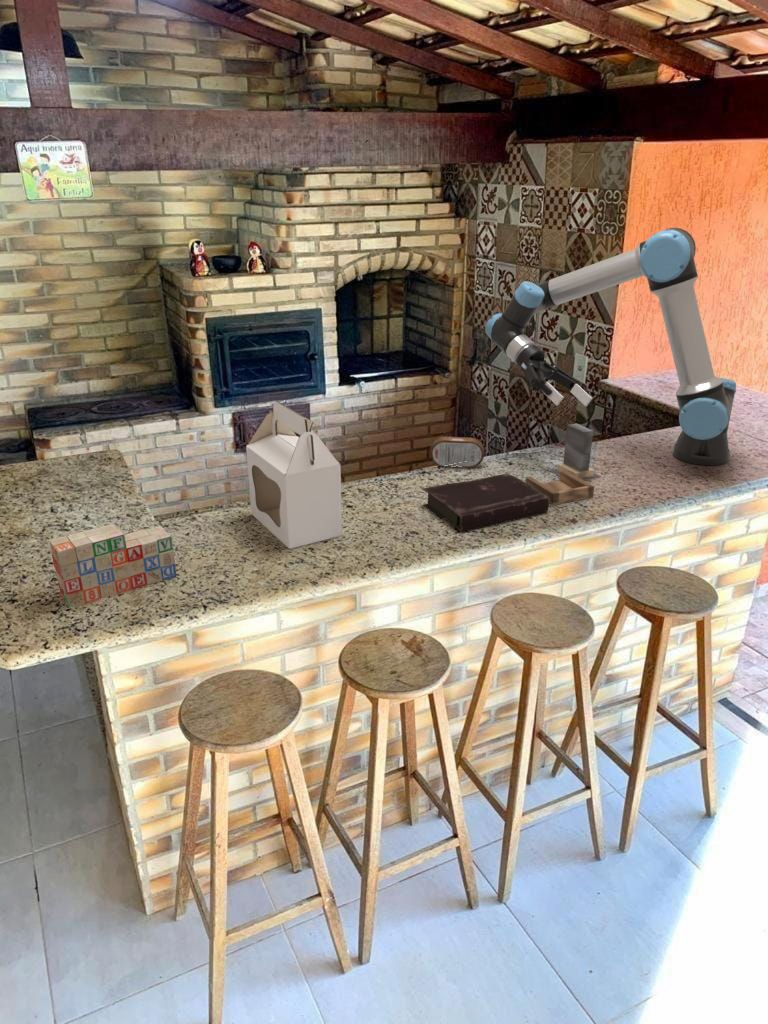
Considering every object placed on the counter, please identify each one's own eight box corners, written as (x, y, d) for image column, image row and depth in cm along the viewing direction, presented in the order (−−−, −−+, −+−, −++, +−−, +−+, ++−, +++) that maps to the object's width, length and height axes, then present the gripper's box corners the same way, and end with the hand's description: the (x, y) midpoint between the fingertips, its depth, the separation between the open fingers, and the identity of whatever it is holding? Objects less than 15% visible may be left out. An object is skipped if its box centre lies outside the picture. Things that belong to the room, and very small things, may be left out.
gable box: (343, 536, 172) (340, 416, 160) (289, 550, 165) (282, 426, 154) (300, 502, 189) (295, 392, 177) (250, 514, 183) (241, 400, 171)
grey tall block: (575, 467, 210) (579, 422, 205) (593, 477, 204) (599, 430, 198) (557, 470, 208) (561, 425, 203) (575, 480, 201) (580, 433, 196)
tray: (563, 482, 201) (565, 470, 200) (592, 498, 191) (594, 486, 190) (525, 489, 197) (526, 477, 195) (552, 506, 187) (553, 494, 185)
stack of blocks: (166, 565, 159) (159, 511, 154) (177, 577, 154) (170, 522, 149) (59, 595, 148) (48, 538, 143) (68, 609, 143) (57, 551, 138)
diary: (548, 515, 184) (550, 496, 182) (461, 536, 173) (462, 516, 171) (503, 488, 199) (505, 470, 197) (420, 505, 188) (421, 487, 186)
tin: (483, 465, 213) (485, 437, 209) (483, 469, 210) (485, 440, 206) (429, 463, 214) (430, 435, 211) (429, 467, 211) (430, 439, 208)
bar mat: (578, 466, 212) (578, 465, 212) (601, 478, 204) (601, 477, 203) (548, 471, 208) (548, 470, 208) (571, 484, 200) (571, 482, 200)
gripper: (545, 367, 224) (592, 413, 214) (490, 363, 207) (539, 412, 197) (559, 346, 220) (608, 391, 209) (504, 340, 203) (555, 389, 193)
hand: (574, 402), depth 203 cm, fingers open, 13 cm apart
